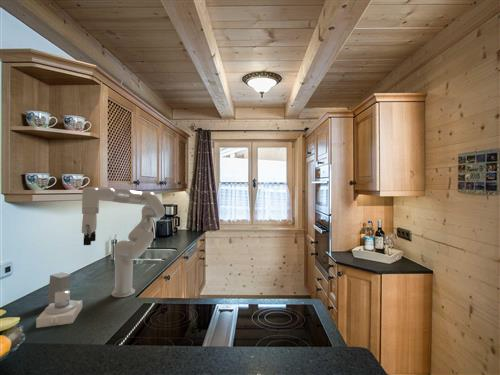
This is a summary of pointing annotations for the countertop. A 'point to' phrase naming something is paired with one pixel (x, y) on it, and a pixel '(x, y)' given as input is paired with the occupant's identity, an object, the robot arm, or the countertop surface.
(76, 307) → the scale
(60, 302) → the steel spacer
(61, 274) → the skincare box
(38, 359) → the countertop surface
